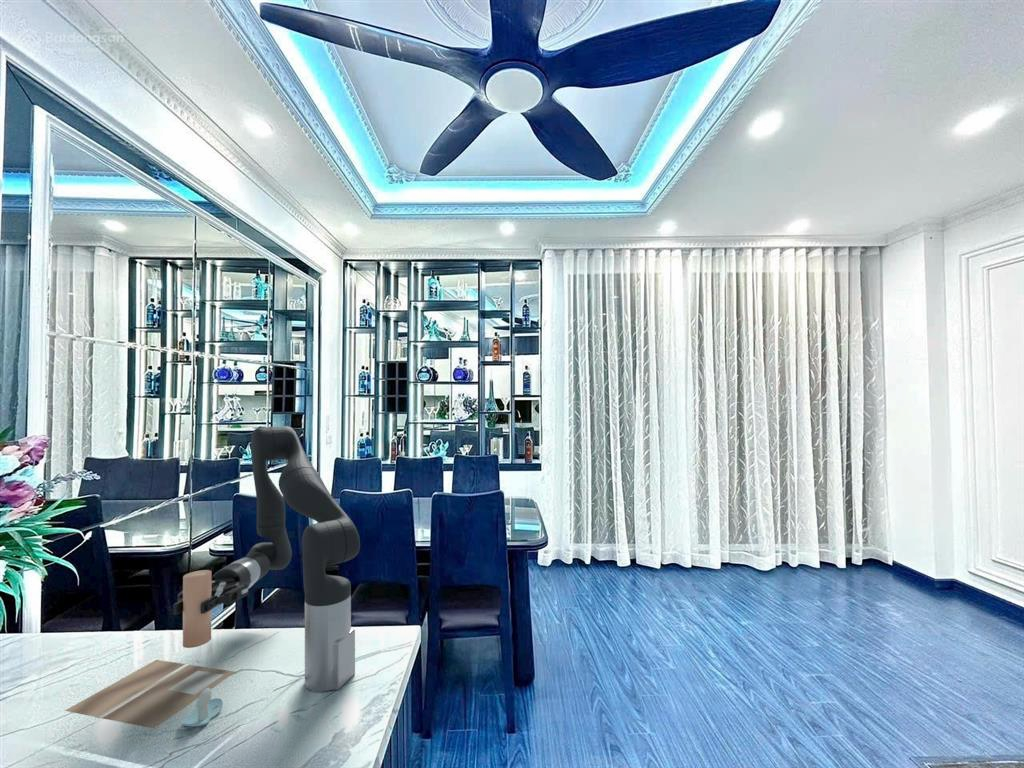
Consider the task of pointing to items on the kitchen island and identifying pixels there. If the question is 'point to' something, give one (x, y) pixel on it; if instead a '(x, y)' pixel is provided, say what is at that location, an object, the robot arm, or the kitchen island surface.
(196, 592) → the cylinder
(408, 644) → the kitchen island surface
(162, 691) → the board
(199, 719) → the pacifier
